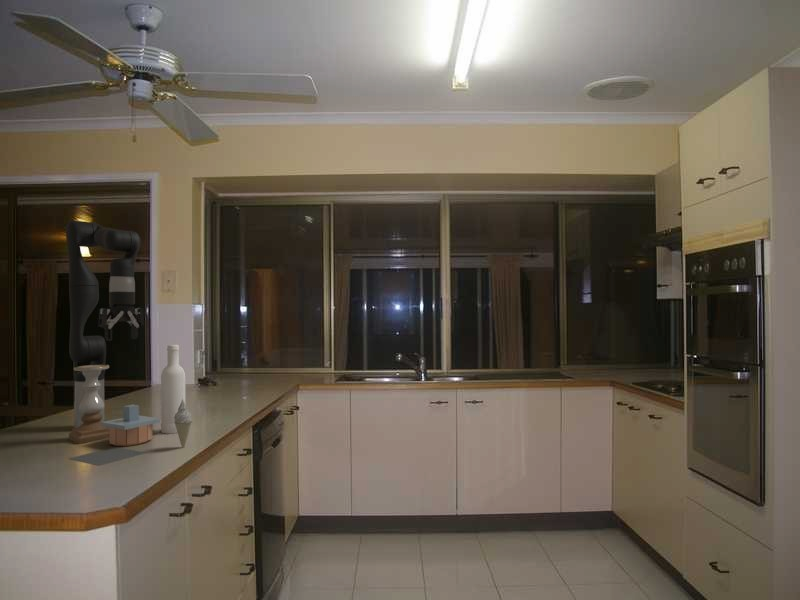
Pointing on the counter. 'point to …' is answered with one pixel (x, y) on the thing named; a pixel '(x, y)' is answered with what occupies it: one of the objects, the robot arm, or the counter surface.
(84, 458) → the mat
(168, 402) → the bottle
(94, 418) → the candle holder
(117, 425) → the lid
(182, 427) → the ice cream cone
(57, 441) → the counter surface
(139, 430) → the bowl
